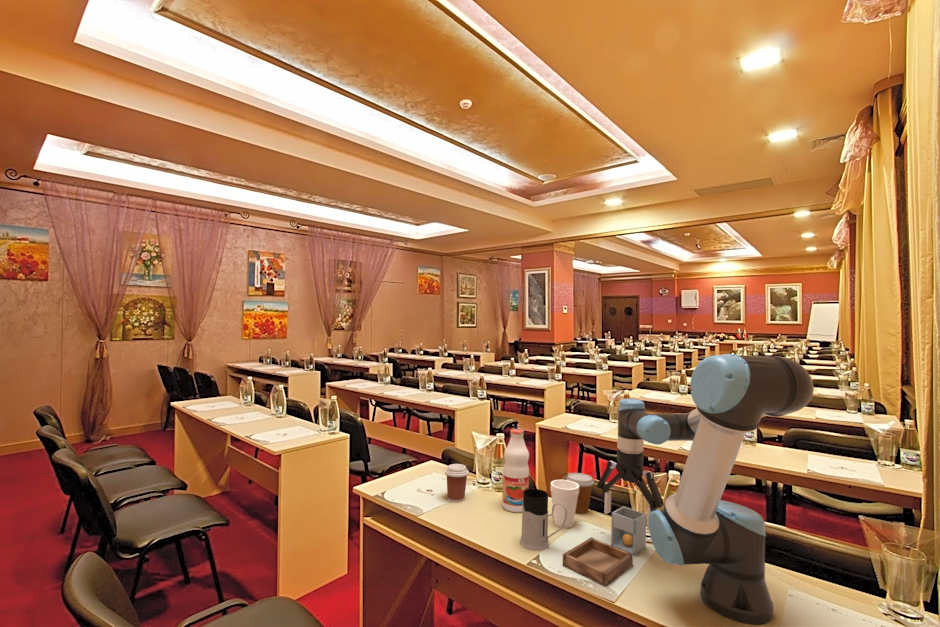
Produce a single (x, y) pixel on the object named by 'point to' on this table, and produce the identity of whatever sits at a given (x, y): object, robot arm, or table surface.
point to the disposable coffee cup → (582, 490)
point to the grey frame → (628, 529)
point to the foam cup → (564, 501)
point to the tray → (598, 561)
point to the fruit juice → (515, 472)
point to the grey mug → (536, 519)
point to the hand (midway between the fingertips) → (628, 520)
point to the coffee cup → (456, 482)
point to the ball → (627, 539)
